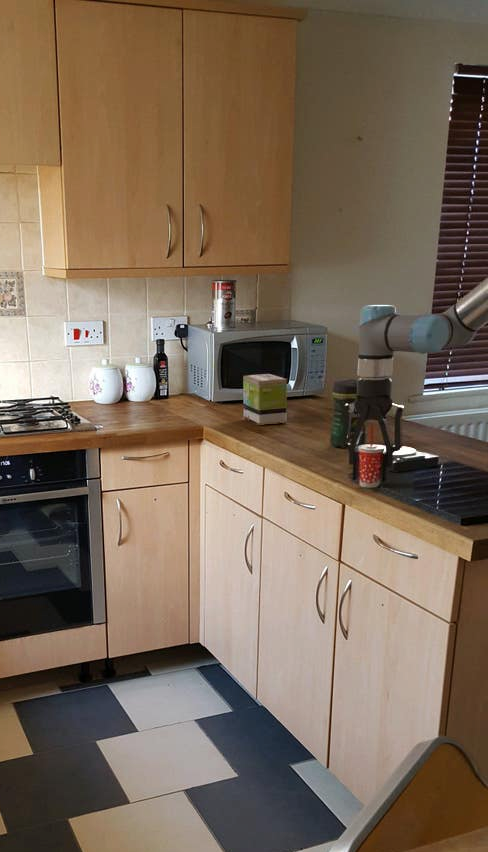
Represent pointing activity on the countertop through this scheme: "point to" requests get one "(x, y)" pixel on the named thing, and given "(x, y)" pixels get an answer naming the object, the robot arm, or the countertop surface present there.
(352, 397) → the coffee jar
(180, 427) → the countertop surface
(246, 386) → the tea box
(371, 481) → the beverage cup
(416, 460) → the kitchen scale
